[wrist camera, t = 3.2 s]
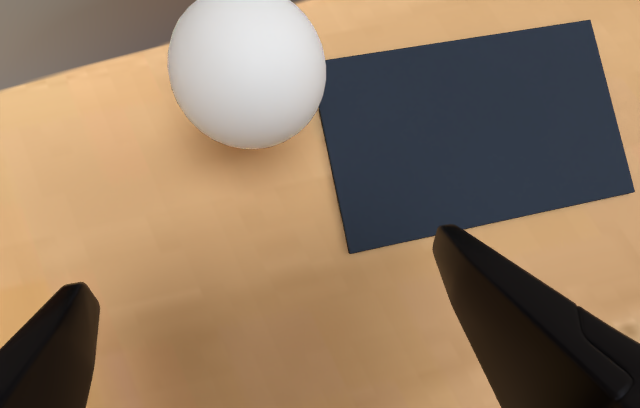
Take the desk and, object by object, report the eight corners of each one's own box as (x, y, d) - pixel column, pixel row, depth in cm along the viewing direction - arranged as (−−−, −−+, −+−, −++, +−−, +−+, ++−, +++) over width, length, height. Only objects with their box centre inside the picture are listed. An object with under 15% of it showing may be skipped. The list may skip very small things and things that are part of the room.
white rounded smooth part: (267, 60, 23) (256, -93, 13) (330, 136, 23) (374, 50, 13) (187, 119, 23) (101, 11, 12) (252, 198, 23) (226, 164, 12)
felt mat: (349, 253, 23) (350, 253, 23) (309, 64, 24) (309, 62, 23) (631, 192, 25) (635, 191, 25) (587, 21, 26) (590, 19, 26)
